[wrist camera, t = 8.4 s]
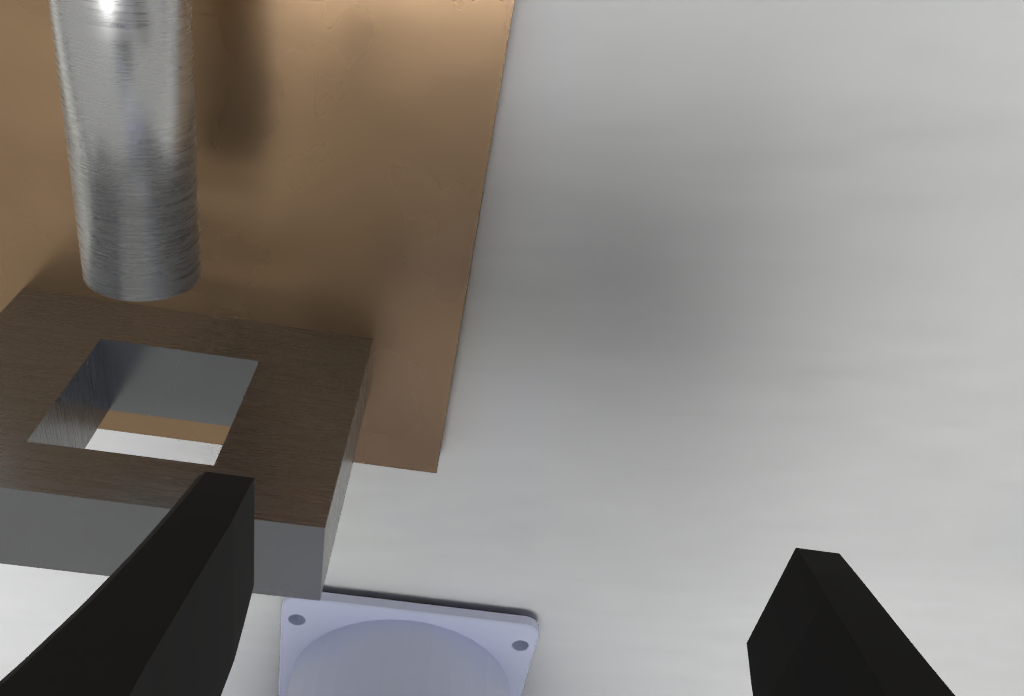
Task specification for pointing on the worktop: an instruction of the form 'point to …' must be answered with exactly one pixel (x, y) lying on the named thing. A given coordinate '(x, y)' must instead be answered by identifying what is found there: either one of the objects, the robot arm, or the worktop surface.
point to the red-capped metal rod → (131, 142)
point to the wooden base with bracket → (250, 278)
